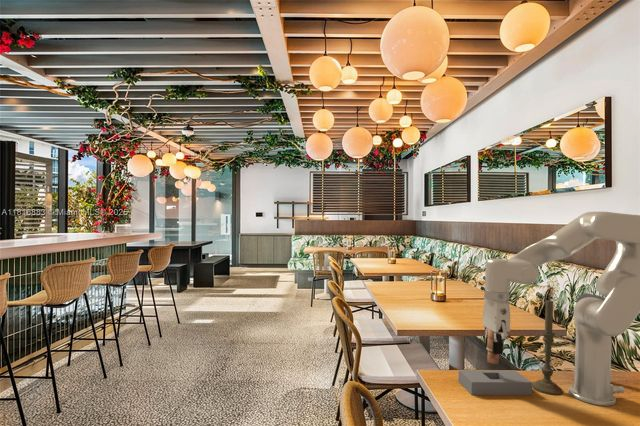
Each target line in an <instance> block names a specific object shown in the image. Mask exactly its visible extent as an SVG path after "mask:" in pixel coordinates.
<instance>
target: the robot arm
mask: <svg viewBox="0 0 640 426" xmlns="http://www.w3.org/2000/svg"><path fill="white" fill-rule="evenodd" d="M597 239H599V240H608V241H614V242H615V245H616V249H615V252H614V255H613V256H612V258H611V260H610V262H609V263H608V264H607V266H606V268H605V269H603V272H602V273H601V275H600V276H599V277H598V279H597V280H596V284H595V288H596V290H597V292H598V293H599V294H600V296H602V297H604V298H605V300H604V301H603V300H600V299H597V298H593V297H587V298H583V299H581V300H579V301H578V302H577V301H576V302H575V303H576V304H575V306H574V308H573V319H574V320H573V321H574V326H575V327H574V328H575V348H574V349H575V351H574V378H573V379H574V383H573V385H569V387H568V393H569V394H570V396H572V397H574V398H575V399H576V400H579V401H581V402H584V403H588V404H590V405H596V406H605V407H607V406H613V405H615V404H616V403H617V398H616V397H615V396H614V395H615V394H616V393H617V394H624V393H625V391H626V390H625V388H624V387H623V386H614V384H612V383H611V378H612V377H611V376H612V375H611V373H612V371H611V370H612V347H613V345H612V337H618V336H620V335H622V334H624V333H625V332H626V331H627V330H628V329H629V328H630V326H631V325H632V324H633V322H634V321H635V319H637V317H638V316H639V314H640V214H630V213H619V212H612V211H611V212H609V211H588V212H583V213H582V214H580V215H579V216H578V217H576V218H574V219H573V220H572V221H570V222H568V223H567V224H565V225H564V226H562V227H561V228H559V229H558V230H557V231H555V232H554V233H552V234H551V235H549V236H547V237H545V238H542V239H541V240H539V241H537V242H536V243H533V244H531V245H529V246H527V247H525V248H524V249H522V250H521V251H519V252H518V253H517V254H515V255H513V256H512V257H511V258H509V259H508V260H507V259H503V258H493V257H492V258H488V259H487V260H486V262H485V279H484V293H483V294H484V295H483V296H484V297H483V300H484V303H483V309H482V310H483V311H482V326H483V327H484V331H485V332H484V335H485V341H484V348H485V349H486V350H487V339H488V328H489V329H490V330H492V331H493V332H494V341H493V350H492V353H493V354H499V355H503V352H504V343H505V340H506V338H508V336H509V335H508V334H510V332H511V308H510V285H511V284H510V283H516V284H522V285H530V284H534V283H535V282H536V281H537V280H538V279H539V276H540V271H539V269H538V267H540V266H542V265H544V264H547V263H550V262H553V261H559V260H564V259H567V258H569V257H571V256H573V255H574V254H576V253H577V252H579V251H580V250H582V249H583V248H584V247H586V246H587V245H589V244H590V243H593V242H594V241H595V240H597ZM498 330H501V332H499V331H498ZM497 334H500V335H499V336H498V337H497Z"/></svg>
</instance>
